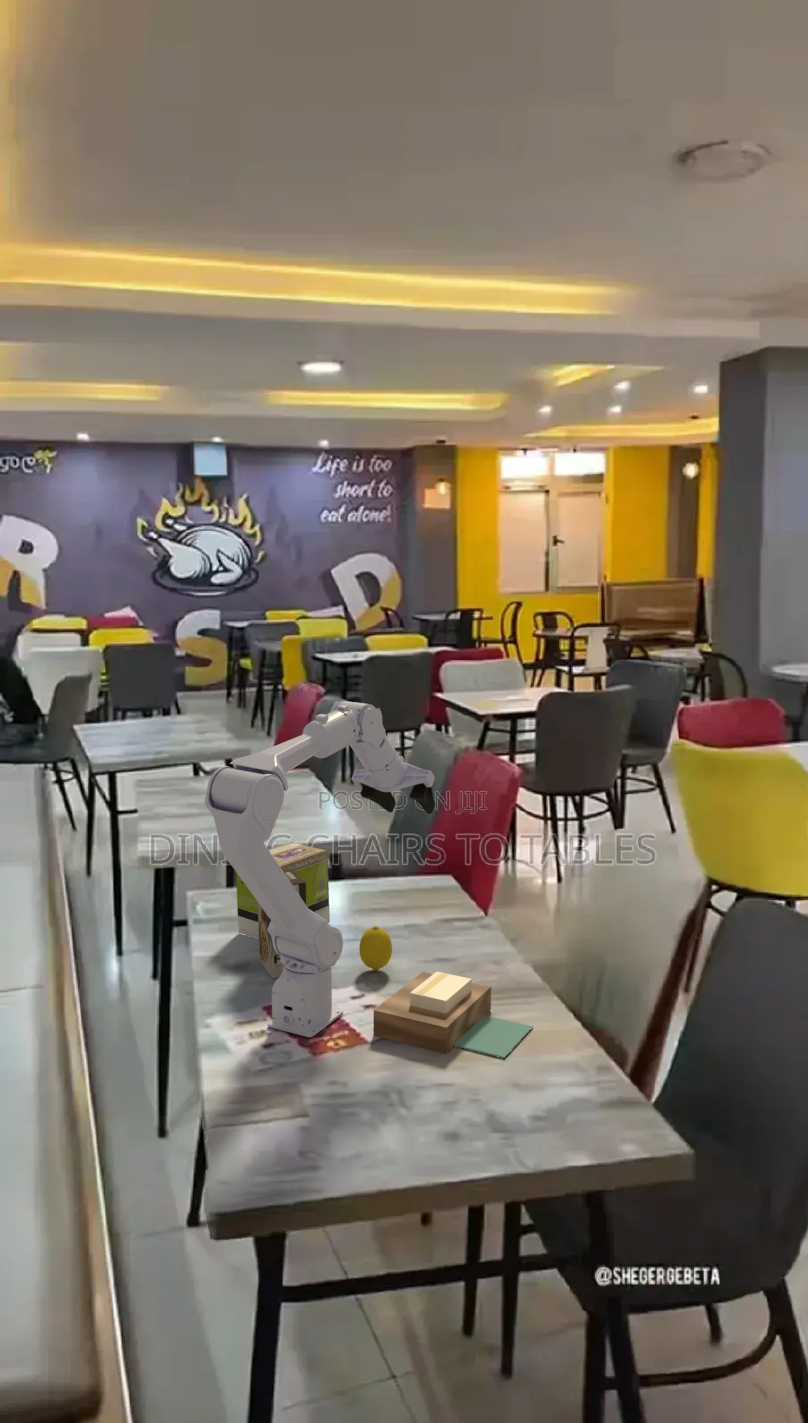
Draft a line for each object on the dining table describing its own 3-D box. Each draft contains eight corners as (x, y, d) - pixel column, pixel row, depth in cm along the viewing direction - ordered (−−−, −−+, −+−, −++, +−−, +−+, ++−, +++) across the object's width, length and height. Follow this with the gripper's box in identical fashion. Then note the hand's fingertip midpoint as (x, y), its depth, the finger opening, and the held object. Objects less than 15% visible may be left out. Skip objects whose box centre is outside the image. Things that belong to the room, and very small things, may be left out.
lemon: (378, 980, 180) (378, 934, 179) (353, 971, 183) (352, 927, 182) (398, 969, 184) (398, 925, 183) (373, 961, 188) (373, 918, 186)
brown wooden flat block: (446, 1053, 155) (446, 1027, 154) (373, 1035, 160) (373, 1009, 160) (490, 1010, 169) (491, 986, 168) (422, 995, 174) (422, 971, 174)
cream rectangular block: (446, 1013, 159) (446, 1000, 158) (410, 1005, 161) (410, 992, 161) (471, 991, 166) (471, 978, 166) (436, 983, 169) (436, 971, 169)
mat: (504, 1058, 153) (504, 1056, 153) (453, 1046, 157) (453, 1044, 157) (532, 1028, 163) (532, 1026, 163) (484, 1016, 167) (484, 1014, 167)
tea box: (293, 912, 212) (292, 839, 210) (330, 924, 206) (330, 849, 204) (236, 933, 201) (234, 857, 198) (273, 947, 195) (272, 868, 192)
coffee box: (308, 973, 183) (307, 882, 180) (271, 979, 180) (269, 886, 178) (293, 954, 191) (292, 866, 188) (258, 959, 189) (256, 870, 186)
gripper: (426, 738, 172) (456, 790, 181) (350, 738, 179) (383, 788, 188) (412, 773, 168) (444, 824, 177) (335, 772, 175) (369, 821, 184)
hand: (411, 808), depth 182 cm, fingers open, 7 cm apart
